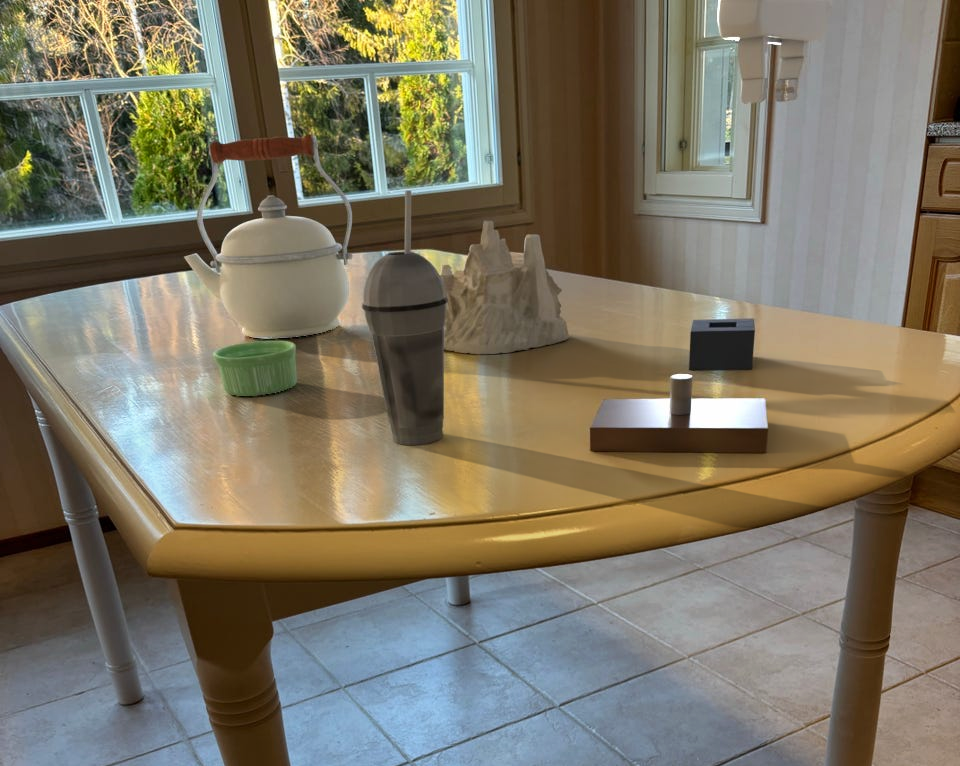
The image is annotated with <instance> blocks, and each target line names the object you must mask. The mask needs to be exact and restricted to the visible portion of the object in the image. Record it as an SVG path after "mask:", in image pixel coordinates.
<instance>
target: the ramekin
mask: <svg viewBox="0 0 960 766" xmlns="http://www.w3.org/2000/svg"><path fill="white" fill-rule="evenodd" d="M296 350H297V346H296V344H295V343H294V342H292V341H289V340H259V341H251V342H242V343H237V344H233V345H231V344H230V345H228V346H225V347H221V348H219V349H217V350H215V351H214V352H213V353H212V355H213V359H214V361H215V363H216V364H217V368H218V372H219V376H220V379H221V382H222V386H223V389H224V392H225V393H227V394H228V395H230V394H231V396H233V395H236V396H235V397H239V396H253V397H257V396H256V395H263V396H266V395H265V394H269V395H272V394H271V393H275V392H279V391H283V392H285V391H284V390H286V389H288V390H290V389H289V388H291V389H292V388H294V387H295V386H296V385H297V382H298V380H297V379H298V378H297V377H298V376H297V364H296ZM293 386H294V387H293ZM286 391H287V390H286ZM279 393H280V392H279ZM275 394H276V393H275Z"/></svg>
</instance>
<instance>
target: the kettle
mask: <svg viewBox="0 0 960 766" xmlns="http://www.w3.org/2000/svg"><path fill="white" fill-rule="evenodd" d="M207 145H208V154H209V156H210V162H211V170H212V175H211V178H210V181H209V183H208V185H207V187H206V189H205V190H204V192H203V195H202V197H201V199H200V202H199V204H198V207H197V211H196V221H197V227H198V229H199V232H200V236H201V237H202V240H203V241H204V243H205V246H206V247H207V250H208V251H209V252H210V254H211V256H212V257H213V260H212V261H210V263H209V265H210V266H209V265H208V264H207V263H206V262H205V261H204V260H203V259H202V258H201V257H200V255H199V254H198V253H192V254H189V255H185V256H183V258H184V259H185V261H186V262H187V264H188V265H189V267H190V268H191V269H192V271H193V272H194V273H195V275H196V276H197V277H198V279H199V280H200V281H201V283H202V284H203V286H205V288H206V289H207V290H208V291H209V292H210V293H211V294H212V295H213V296H214V297H215V298H216V299H218V300H219V301H220V302H222V304H223V306H224V308H225V310H226V312H227V313H228V315H229V316H230V317H231V318H232V319H233V320H234V321H235V322H236V323H237V324H239V325H240V326H241V327H243V328H242V330H241V332H242V335H244V336H245V335H247V336H252V337H268V338H270V337H272V338H275V337H276V338H277V337H296V336H304V335H311V334H317V333H321V332H325V331H328V330H331V331H333V330H335V329H337V328H338V327H339V326H340V319H339V318H338V317H339V316H340V315H341V313H342V312H343V310H344V308H345V307H346V305H347V304H348V301H349V298H350V292H351V290H350V289H351V287H350V280H349V276H348V273H347V270H346V267H345V266H348V265H349V260H352V259H353V254H352V253H351V252H348V245H349V240H350V236H351V231H352V225H353V211H352V206H351V204H350V201H349V200H348V198H347V196H346V195H345V194H344V191H342V190H341V188H340V187H339V186H338V185H337V184H336V183H335V181H334V180H332V178H331V177H330V176H329V175H328V174H327V173H326V172H325V170H324V169H323V166H322V164H321V162H320V161H321V160H320V155H319V150H318V148H319V142H318V141H317V135H313V134H311V133H307V134H305V135H303V137H290V136H274V137H271V138H270V137H265V138H263V137H261V138H260V137H259V138H254V139H251V138H250V139H249V138H247V139H240V140H235V141H230V142H227V143H222V142H220V141H218V140H215V141H212V142H210V143H209V142H208V144H207ZM301 155H305V156H306V157H309V158H313V157H314V158H313V159H314V163H315V167H316V169H317V171H318V172H319V173H320V175H321V176H322V177H323V178H324V180H326V181H327V183H328V184H329V185H330V186H331V187H332V188H333V190H334V191H335V192H336V193H337V195H338V196H339V197H340V199H341V200H342V202H343V203H344V205H345V208H346V212H347V213H346V214H347V224H346V225H347V226H346V232H345V237H344V240H343V244H341V243H339V242H336V240H335V238H334V236H333V234H332V233H331V231H330V230H329V229H328V228H327V227H326V226H325V225H324V224H322V223H320V222H318V221H316V220H313V219H311V218H307V217H304V216H295V215H293V216H292V215H286V209H288V206H287V204H285V202H284V201H283V200H282V199H280V198H279V197H276V196H275V195H274V194H273V195H267V196H266V197H265V198H264V199H263V200H262V201H261V202H260V203H259V206H258V208H257V210H258V211H259V212H261V216H262V217H261V218H256V219H252V220H248V221H244V222H243V223H241V224H238V225H237V226H236V227H234V228H232V229H231V230H230V231H229V232H228V233H227V234H226V236H225V237H224V239H223V241H222V244H221V250H220V253H218V251H217V250H216V249H215V247H214V244H213V243H212V242H211V239H210V238H209V236H208V234H207V231H206V229H205V226H204V220H203V213H204V208H205V205H206V203H207V200H208V199H209V196H210V194H211V192H212V190H213V188H214V186H215V184H216V182H217V180H218V176H219V166H218V164H222V163H224V162H225V161H240V162H249V161H250V162H251V161H256V160H257V161H262V160H263V161H265V160H272V159H278V160H279V159H286V158H292V157H296V156H301ZM340 251H342V253H339V252H340ZM213 268H215V270H214V269H213ZM336 327H337V328H336ZM334 328H335V329H334ZM332 329H333V330H332ZM328 332H329V331H328ZM325 333H326V332H325ZM321 334H322V333H321ZM317 335H318V334H317Z"/></svg>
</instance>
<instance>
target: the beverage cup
mask: <svg viewBox="0 0 960 766" xmlns="http://www.w3.org/2000/svg"><path fill="white" fill-rule="evenodd" d="M411 246H412V190H405V191H404V251H393V252H389V253H386V254H384V255H383V256H381V257H380V258H378V259H377V260H376V261H375V262H374V263H373V265H372V266H371V267H370V269H369V271H368V272H367V274H366V277H365V278H364V282H363V287H362V303H361V309H362V310H363V311H364V317H365V321H366V324H367V327H368V331H369V333H370V335H371V338H372V339H371V340H372V343H373V349H374V354H375V361H376V364H377V369H378V374H379V380H380V385H381V389H382V395H383V400H384V404H385V410H386V414H387V420H388V423H389V427H390V431H391V435H392V441H393V442H394V443H396V444H399V445H403V446H419V445H427V444H430V443H431V444H432V443H435V442H438V441H439V440H441V439H442V438H443V436H444V431H443V428H444V418H445V394H444V393H445V361H444V360H445V349H444V326H445V321H446V303H447V302H448V299H447V296H446V294H445V288H444V285H443V281H442V279H441V277H440V275H441V274H440V273H439V272H438V270H437V268H436V267H435V266H434V265H433V263H432V262H430V261H429V260H428V259H427V258H426V257H424V256H422V255H421V254H419V253H417V252H414V251H412V250H411V249H412V247H411Z"/></svg>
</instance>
